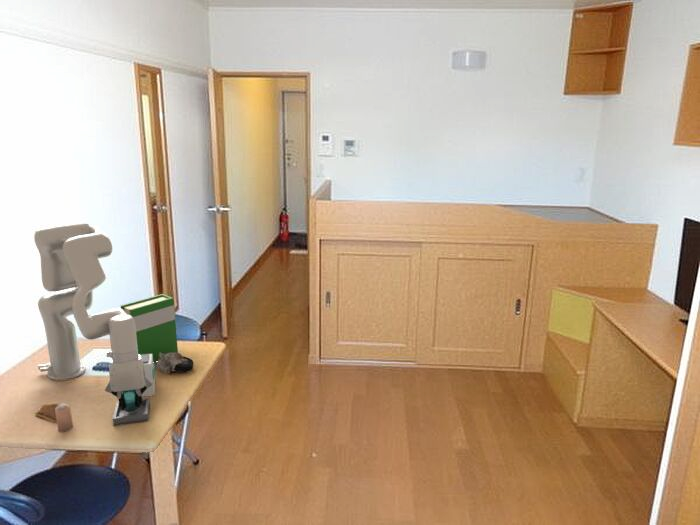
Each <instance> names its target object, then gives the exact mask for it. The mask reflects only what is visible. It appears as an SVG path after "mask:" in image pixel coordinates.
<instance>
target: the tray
mask: <svg viewBox="0 0 700 525" xmlns="http://www.w3.org/2000/svg"><path fill="white" fill-rule="evenodd" d="M115 403H116V404H115V408H114V411H113V416H112V425H113V427H116V426H123V425H130V424H137V423H144V422H148V421H149V416H150V415H149V414H150V408H151V407H150V406H151V402H150V397H148V398H147V397H146V398H142V404H140V408H138V409H137V410H135V411H132V412H127V411H125V408H124V410H122V408H121V406H119V401H117V402H115Z"/></svg>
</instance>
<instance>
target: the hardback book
mask: <svg viewBox="0 0 700 525" xmlns="http://www.w3.org/2000/svg"><path fill="white" fill-rule="evenodd" d="M174 303H175V301H174V297H171V296H170V295H167V294H165V293H161V294H157V295H154V296H150V297H147V298H143V299H139V300H135V301H132V302H128V303H124V304H121V305H120V308H121V309H123V310H124V311H125V312H126V313H127V314H128V315H130V316H132V317H133V318H134V320H135V327H136V336H137V345H138V354H139V355H142V354H152V355H153V362H155V363H157V362H156V361H158V357H159V352H161V353H162V354H167V353H171V352H178V353H179V350H178V349H179V348H178V338H177V337H178V336H177V325H176V314H175V313H176V312H175V304H174Z"/></svg>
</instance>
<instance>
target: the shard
mask: <svg viewBox="0 0 700 525" xmlns="http://www.w3.org/2000/svg"><path fill="white" fill-rule="evenodd" d="M61 404H62V403H57V402H56V403H49V404H42V405H41V406H40V407H39V410H38V411H36V412H35V413H34V414H35V416H36V417H40V418H41V417H42V418H44V419H45V420H47V421H50V422H52V423H56V424H57V419H56V413H55V408H56V407H57V406H59V405H61Z"/></svg>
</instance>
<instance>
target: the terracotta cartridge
mask: <svg viewBox="0 0 700 525" xmlns="http://www.w3.org/2000/svg"><path fill="white" fill-rule="evenodd" d="M60 404H61V405H59V406H57V407H56V408H55V413H56V419H57V423H56V424H57V431H59V432H68V431H70V430H71V429H73V427H74V426H73V424H74V423H73V418H72V412H71V410H72V409H71V406H70V404H67V403H60Z"/></svg>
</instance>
